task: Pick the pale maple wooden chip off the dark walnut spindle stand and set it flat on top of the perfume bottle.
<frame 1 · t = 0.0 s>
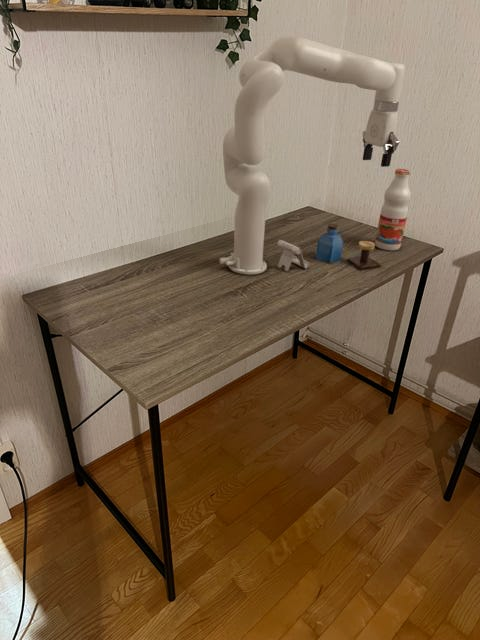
hand: (375, 163, 163), 31 cm above the table, tool pointing down, fingers open, 9 cm apart
perfume bottle: (328, 258, 171), on the table
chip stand: (363, 263, 168), on the table
chip: (366, 247, 165), point 6 cm above the table, touching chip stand
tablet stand: (290, 267, 164), on the table
white yogurt drink bottle: (387, 246, 184), on the table
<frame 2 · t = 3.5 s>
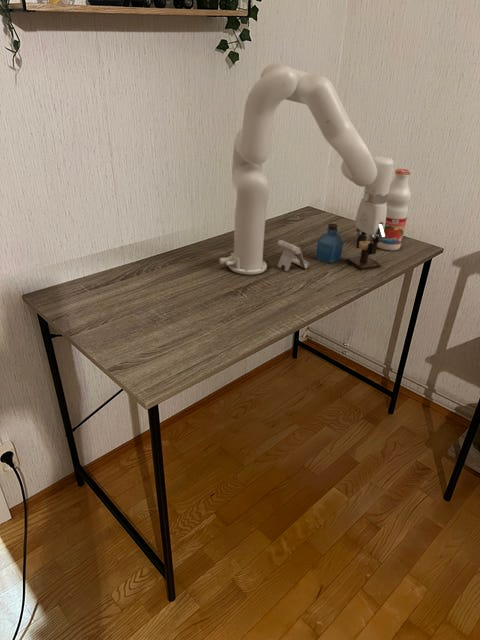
hand: (365, 250, 166), 5 cm above the table, tool pointing down, fingers closed on chip, 5 cm apart
chip: (366, 247, 165), point 6 cm above the table, touching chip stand, gripper
everything else where it was.
when the fingers open (11 cm above the table, at t = 8.8 s): chip stays where it is, resting on perfume bottle.
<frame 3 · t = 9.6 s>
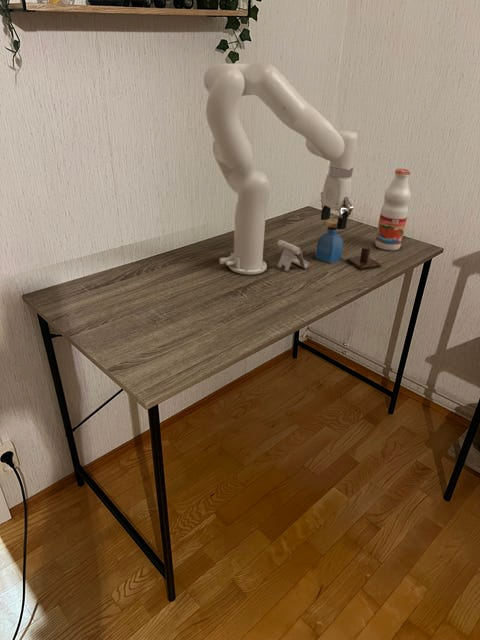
hand: (332, 224, 165), 12 cm above the table, tool pointing down, fingers open, 9 cm apart
perfume bottle: (328, 258, 171), on the table, touching chip
chip: (333, 225, 165), point 12 cm above the table, touching perfume bottle
everything else where it was.
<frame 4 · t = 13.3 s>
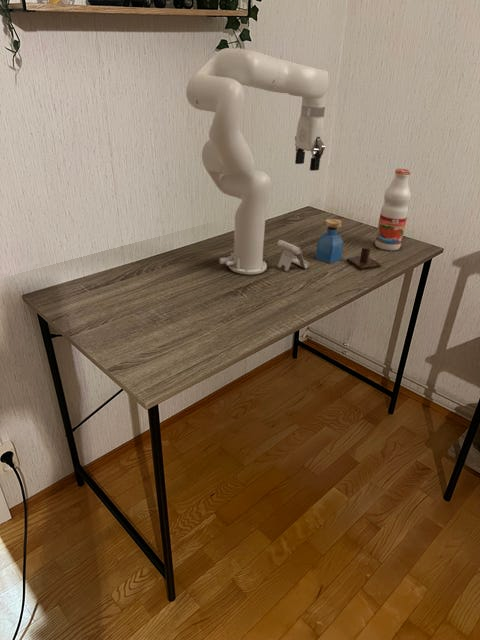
hand: (306, 166, 167), 28 cm above the table, tool pointing down, fingers open, 9 cm apart
nothing on the table moved.
at the end: chip 0.1 cm from the perfume bottle (horizontally); chip point 12.0 cm above the table; perfume bottle tilted 0° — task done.
